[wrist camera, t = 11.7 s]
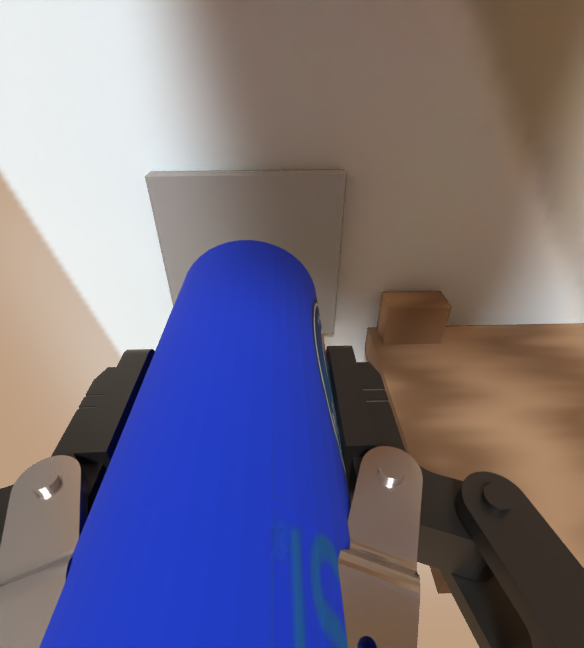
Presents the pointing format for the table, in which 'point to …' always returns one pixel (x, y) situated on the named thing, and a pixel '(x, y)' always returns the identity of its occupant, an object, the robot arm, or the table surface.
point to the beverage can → (221, 478)
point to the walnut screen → (488, 403)
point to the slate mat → (252, 220)
